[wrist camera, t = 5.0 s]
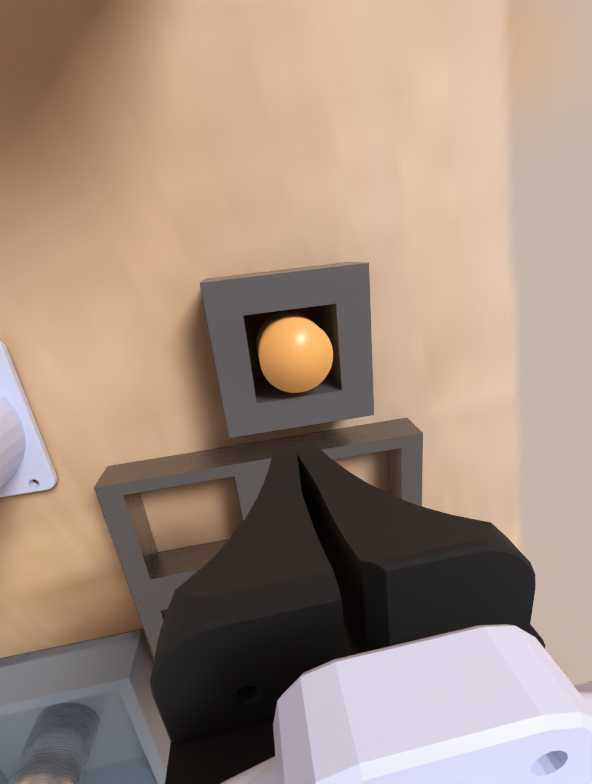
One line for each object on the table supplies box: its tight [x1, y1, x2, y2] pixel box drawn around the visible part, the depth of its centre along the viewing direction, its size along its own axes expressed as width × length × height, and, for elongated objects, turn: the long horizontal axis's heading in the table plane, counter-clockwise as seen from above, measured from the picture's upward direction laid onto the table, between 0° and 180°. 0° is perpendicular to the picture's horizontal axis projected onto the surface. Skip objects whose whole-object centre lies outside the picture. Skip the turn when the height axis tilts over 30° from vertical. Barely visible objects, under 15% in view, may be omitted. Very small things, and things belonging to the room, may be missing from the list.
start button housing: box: [200, 262, 374, 438], centre depth 18 cm, size 7×7×3 cm
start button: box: [256, 311, 333, 393], centre depth 17 cm, size 3×3×3 cm
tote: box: [0, 630, 171, 784], centre depth 24 cm, size 13×13×3 cm
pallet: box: [94, 418, 423, 657], centre depth 23 cm, size 17×15×2 cm
